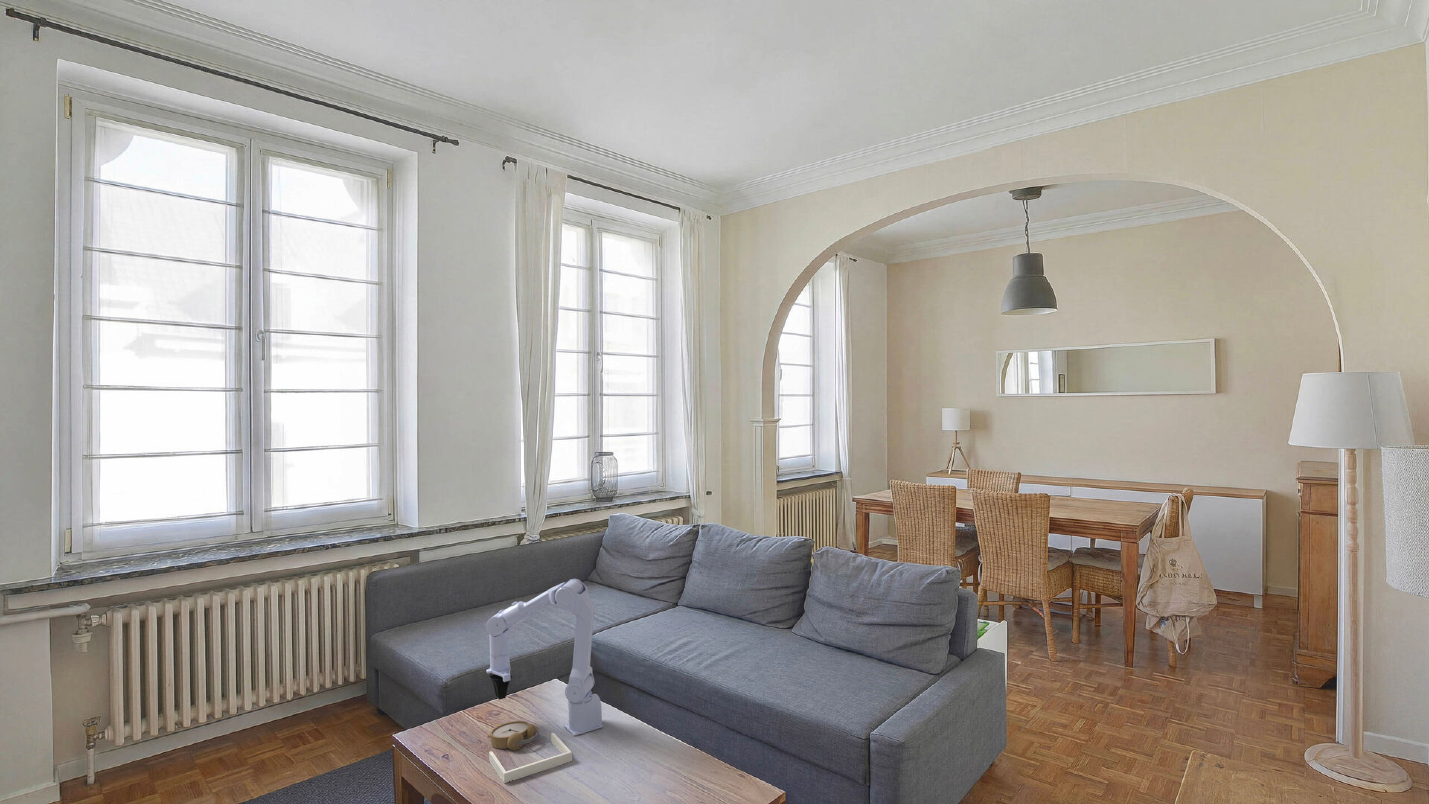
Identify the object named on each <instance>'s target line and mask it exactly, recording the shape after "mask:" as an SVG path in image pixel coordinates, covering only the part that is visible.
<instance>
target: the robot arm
mask: <svg viewBox="0 0 1429 804" xmlns="http://www.w3.org/2000/svg"><path fill="white" fill-rule="evenodd" d="M548 604H552V605H553V606H556V605H558V606H560V607H561V608H563V609H565V610H566V611H569V612H570V613H572V614H573V615H574V616H575V628H574V631H575V632H574V644H573V653H572V654H573V655H572V656H573V657H572V668H571V671H570V674H569V677H568V684H567V685H566V687H565V690H564V696H565V698H566V699H567V701H568V703H567V704H568V706H567V707H568V723H566V724H564V725H563V726H564V728H565V729H566V728H567V729H566V730H567V731H568V732H569V733H570V734H571V735H572V736H574V737H575V736H579V735H582V734H586V733H588V732H592V731H596V730H599V729H601V728H604V725H603V719H602V718H603V717H602V716H603V713H602V710H603V709H602V702H601V698H600V696H599V695H598V694H597V693H593V692H592V689H593V688H594V685H595V683H596V682H595V677H594V674H593V667H592V666H591V656H592V655H591V653H592V645H593V630H594V629H593V628H594V614H595V608H594V605H593V602H592V600H591V597H590V595H589V593H588V587H587V585H586V584H584V583H583V582H582V580H580V579H577V578H572V579H569V580H568V581H565V582H561V583H559V584H557V585H555V586H553V587H551V588H549V589H547V590H546V591H544V592H542V593H540V594H539V595H537V596H536V597H534V598H532V599H530V600H529V601H526V602H524V601H514V602H512V603H511V606H508V607H507V608H506V609H503V608H502V609H500V610H499V611H498V613H496V614H494V615H493V616H491V617H490V618H488V619H487V621H486V623H485V630H486V632H487V633H488V635H489V637H488V638H489V665H490V667H489V668H488V669H486V674H488V676H489V678H490V679H491V683H492V685H493V689H494V693H495V696H496V698H498V700H499V701H500V700H503V699H506V698H507V694H508V688H509V685H510V682H511V681H512V678H513V675H512V674H511V665H510V663H511V662H510V661H511V660H510V637H509V635H510V633H509V632H510V631H509V629H511V628H513V627H515V626H516V625H518V624H520V623H522V622H523V621H526V620H528V619H529V618H530V615H531V613H532V612H533V611H535V610H537V609H540V608H542V607H543V606H546V605H548Z"/></svg>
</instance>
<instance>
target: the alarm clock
mask: <svg viewBox="0 0 1429 804" xmlns="http://www.w3.org/2000/svg"><path fill="white" fill-rule="evenodd" d="M538 734H539V731H538V729H537V727H536V725H535V724H534V723H533V724H532V723H529V722H528V721H525V720H514V721H510V722H509V721H508V722H505V723H501V724H499V725H497V726H496V727H494V728H492V729H491V730H490V732H489V735H487V738H488V739H489V738H490V745H491V747H492V748H494V749H509V750H511V751H518V750H519V748H520V749H521V748H522V747H523V745H526V744H529V743H531V742H534V741H535V740H537V738H538ZM517 749H518V750H517Z"/></svg>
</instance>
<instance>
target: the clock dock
mask: <svg viewBox="0 0 1429 804" xmlns="http://www.w3.org/2000/svg"><path fill="white" fill-rule="evenodd" d="M550 739H551V743H552V745H553V746H554V745H555V746H556V747H557V748H558V749H559V750H558V749H557V748H556V747H555V746H554V747H555V748H556V749H557V750H558V751H559V754H558V755H557V754H556V755H554V756H550V757H548V758H543V759H542V760H541V759H540V760H537V761H535V762H531V763H528V764H525V765H521V766H519V767H517V768H512V769H510V770H506V769H505V768H504V766H503V765H502V763H501V762H500V760H499V759H498V758H497V756H496V755H495V753H494V752H493V751H492V750H491V751H489V752H488V759H489V763H490V764H491V766H492V767H493V768H494V770H495V771H496V772H495V773H497V775H498V776H499V777H500V780H501V781H502V783H503V784H506V783H509V781H510V782H513V781H516V780H520V779H522V778H525V777H529V776H531V775H534V774H537V773H540V772H543V771H546V770H550V769H553V768H556V767H558V766H562V765H564V763H565V764H568V763H571V762H573V752H572V751H571V750H570V748H569V747H567V745H566V744H565V743H564V742H563V741H562V740H561V738H559V736H558V735H556V734H555V733H554V732H551V734H550ZM570 761H571V762H570ZM567 762H568V763H567ZM512 780H513V781H512Z"/></svg>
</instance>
